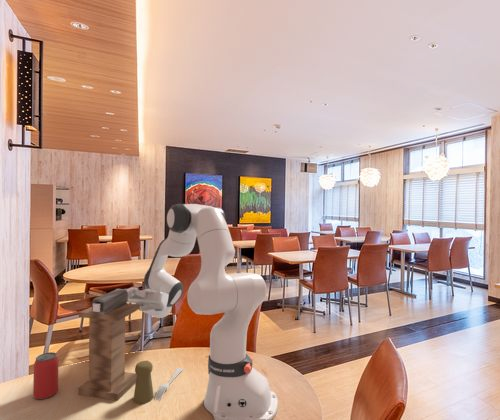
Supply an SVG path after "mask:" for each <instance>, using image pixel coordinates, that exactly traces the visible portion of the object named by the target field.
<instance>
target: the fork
mask: <svg viewBox="0 0 500 420" xmlns="http://www.w3.org/2000/svg"><path fill="white" fill-rule="evenodd" d="M183 371H184V368H183V367H178V368H177V369H175V371H174V373H173V374H172V377H171V378H170V380H169V381H168V382H167V383H166V384H164V383H162V384H160V385H159V386H158V389H157V391H156V393H155V396H154V398H153V401H156V402H158V401H159V402H160V401H161V399H162V398H163V396H164V394H165V392H166V390H167V388H169V386H170V384H171V383H172V382H173V381H174V380H175V379H176V378H177V376H178V375H179V374H180V373H182V372H183Z"/></svg>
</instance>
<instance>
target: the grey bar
mask: <svg viewBox="0 0 500 420" xmlns="http://www.w3.org/2000/svg"><path fill="white" fill-rule="evenodd" d="M125 289H126V290H127V292H128V298H130V297H132V296H134V294H133V292H134V289H137V290H140V286H132V287H129V288H125ZM93 311H95V312H101V311H103V302H95V303H93Z"/></svg>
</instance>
